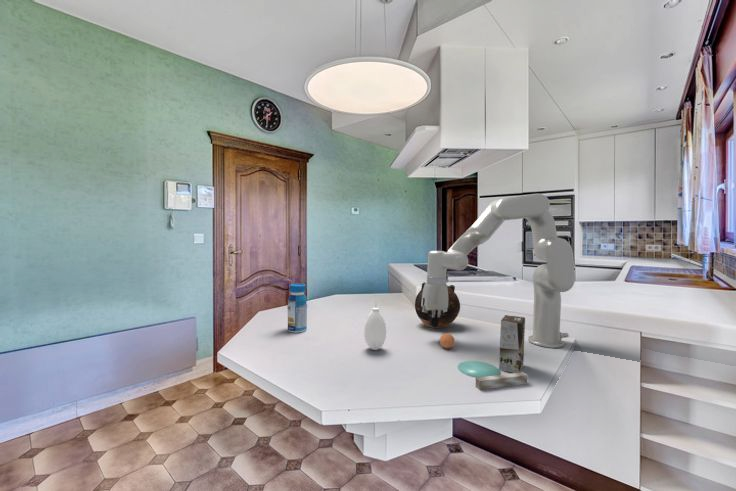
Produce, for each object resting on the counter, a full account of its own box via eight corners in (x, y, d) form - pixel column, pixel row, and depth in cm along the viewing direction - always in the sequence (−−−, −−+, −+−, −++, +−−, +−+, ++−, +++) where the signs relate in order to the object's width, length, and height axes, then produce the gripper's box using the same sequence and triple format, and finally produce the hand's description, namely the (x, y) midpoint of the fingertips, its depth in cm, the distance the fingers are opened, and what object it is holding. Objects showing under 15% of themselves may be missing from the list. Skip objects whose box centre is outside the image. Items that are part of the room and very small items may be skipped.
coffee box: (520, 374, 103) (522, 323, 102) (498, 369, 106) (500, 319, 105) (524, 364, 110) (526, 317, 110) (503, 360, 114) (505, 314, 113)
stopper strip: (522, 380, 98) (522, 372, 98) (527, 383, 97) (527, 375, 96) (475, 386, 94) (475, 377, 94) (479, 389, 92) (480, 381, 92)
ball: (449, 344, 128) (450, 330, 128) (457, 349, 123) (457, 335, 123) (436, 346, 127) (437, 331, 127) (444, 351, 122) (444, 336, 121)
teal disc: (483, 359, 114) (483, 359, 114) (509, 375, 101) (509, 375, 101) (450, 363, 110) (450, 362, 110) (472, 380, 98) (472, 379, 98)
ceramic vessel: (418, 332, 144) (420, 263, 143) (410, 321, 162) (412, 260, 160) (465, 332, 146) (467, 264, 144) (453, 321, 163) (454, 260, 162)
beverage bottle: (304, 333, 140) (305, 286, 139) (284, 333, 140) (285, 285, 139) (308, 327, 148) (309, 283, 147) (289, 327, 148) (290, 282, 147)
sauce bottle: (389, 349, 122) (390, 301, 122) (375, 354, 117) (376, 304, 116) (374, 344, 128) (374, 297, 127) (359, 349, 122) (360, 300, 121)
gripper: (448, 279, 139) (445, 323, 140) (415, 280, 135) (413, 324, 135) (457, 282, 132) (455, 328, 132) (423, 283, 127) (421, 330, 128)
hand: (434, 326), depth 134 cm, fingers closed
